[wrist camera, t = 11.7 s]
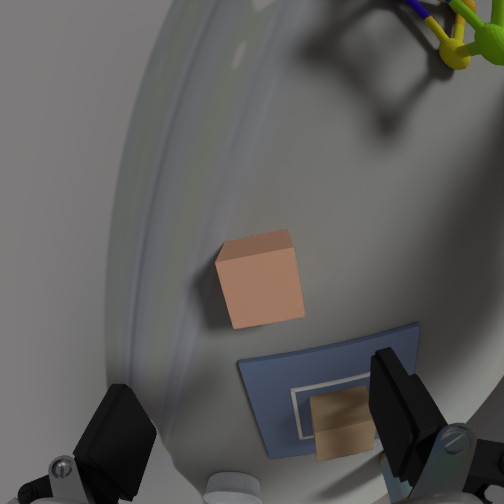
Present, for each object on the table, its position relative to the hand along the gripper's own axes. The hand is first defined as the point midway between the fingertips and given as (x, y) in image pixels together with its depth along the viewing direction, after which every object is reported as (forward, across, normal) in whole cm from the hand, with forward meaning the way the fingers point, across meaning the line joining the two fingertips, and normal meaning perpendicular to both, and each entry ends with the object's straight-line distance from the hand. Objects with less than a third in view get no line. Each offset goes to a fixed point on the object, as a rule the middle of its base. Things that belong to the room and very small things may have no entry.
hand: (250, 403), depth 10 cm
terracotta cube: (+15, -1, 0) cm, 15 cm away
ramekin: (+15, +10, +35) cm, 39 cm away
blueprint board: (+14, -6, +18) cm, 24 cm away
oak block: (+14, -6, +18) cm, 23 cm away
